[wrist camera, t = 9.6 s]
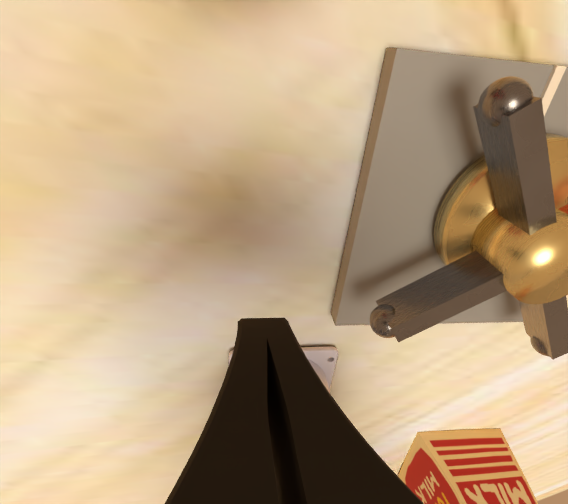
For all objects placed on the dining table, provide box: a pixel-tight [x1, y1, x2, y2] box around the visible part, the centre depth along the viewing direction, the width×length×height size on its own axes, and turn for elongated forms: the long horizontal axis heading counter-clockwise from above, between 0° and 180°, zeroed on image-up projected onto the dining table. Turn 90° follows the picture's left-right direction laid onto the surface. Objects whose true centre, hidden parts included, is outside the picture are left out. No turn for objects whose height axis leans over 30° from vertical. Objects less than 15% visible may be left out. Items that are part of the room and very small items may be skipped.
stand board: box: [331, 48, 568, 325], centre depth 20 cm, size 16×16×1 cm
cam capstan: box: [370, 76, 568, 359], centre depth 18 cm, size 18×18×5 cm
